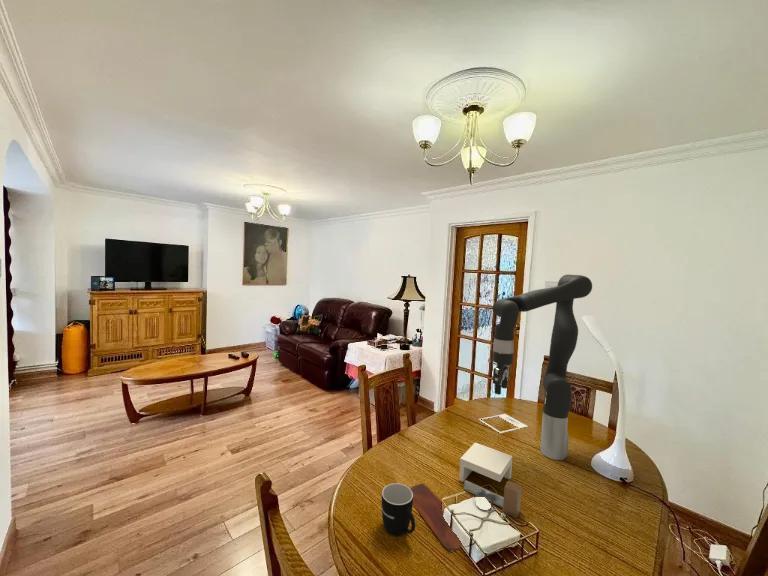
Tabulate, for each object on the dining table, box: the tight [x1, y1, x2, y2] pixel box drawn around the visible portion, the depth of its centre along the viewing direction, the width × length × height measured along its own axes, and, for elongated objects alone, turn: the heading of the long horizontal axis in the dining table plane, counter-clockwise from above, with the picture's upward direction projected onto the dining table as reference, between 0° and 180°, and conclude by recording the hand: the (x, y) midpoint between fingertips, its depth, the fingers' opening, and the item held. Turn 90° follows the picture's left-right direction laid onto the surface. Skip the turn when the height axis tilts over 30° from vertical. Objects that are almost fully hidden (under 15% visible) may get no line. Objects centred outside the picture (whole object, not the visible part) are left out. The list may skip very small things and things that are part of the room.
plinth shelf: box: [458, 442, 513, 483], centre depth 114 cm, size 14×14×8 cm
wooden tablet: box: [409, 483, 464, 553], centre depth 96 cm, size 27×10×2 cm, turn 25°
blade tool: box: [463, 479, 522, 519], centre depth 102 cm, size 18×4×8 cm, turn 52°
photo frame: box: [478, 413, 529, 435], centre depth 158 cm, size 15×1×18 cm
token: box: [475, 492, 493, 505], centre depth 101 cm, size 5×5×2 cm
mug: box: [381, 482, 416, 537], centre depth 89 cm, size 12×9×10 cm
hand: (500, 390), depth 125 cm, fingers open, 8 cm apart
